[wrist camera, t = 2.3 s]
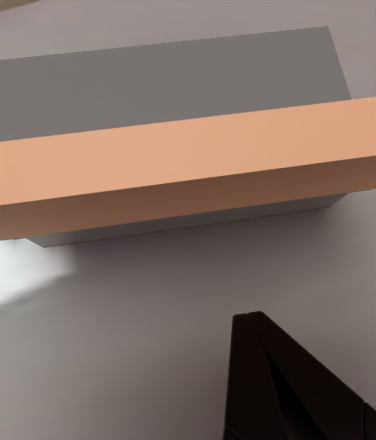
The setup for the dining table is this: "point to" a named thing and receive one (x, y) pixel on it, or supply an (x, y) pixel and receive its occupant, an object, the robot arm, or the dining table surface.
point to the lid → (185, 167)
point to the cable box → (169, 99)
